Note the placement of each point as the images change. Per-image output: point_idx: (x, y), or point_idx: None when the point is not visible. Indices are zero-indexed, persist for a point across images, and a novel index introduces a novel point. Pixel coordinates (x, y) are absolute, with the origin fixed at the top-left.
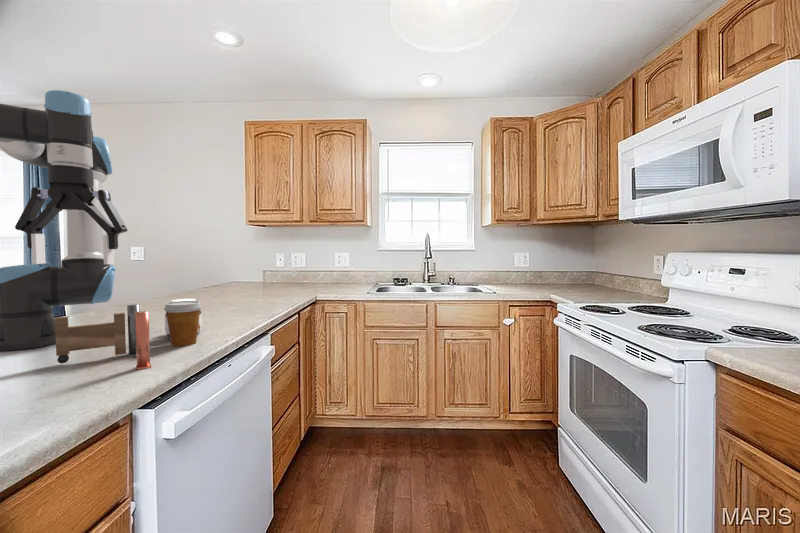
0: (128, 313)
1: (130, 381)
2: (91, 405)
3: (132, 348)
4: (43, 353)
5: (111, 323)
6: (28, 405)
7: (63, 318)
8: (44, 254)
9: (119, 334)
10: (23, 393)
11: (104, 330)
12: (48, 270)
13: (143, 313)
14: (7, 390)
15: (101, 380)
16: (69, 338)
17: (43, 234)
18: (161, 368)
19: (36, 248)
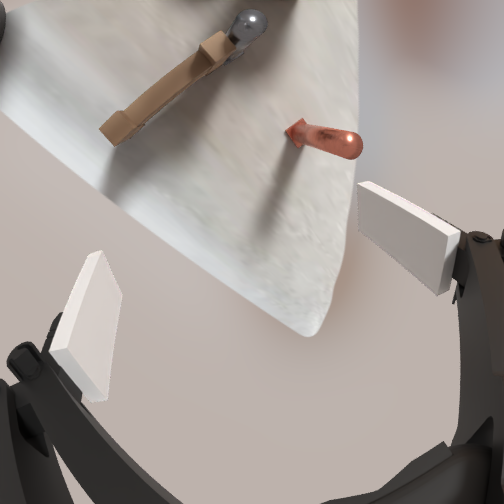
0: (241, 40)
1: (319, 200)
2: (321, 273)
3: (232, 57)
4: (34, 71)
5: (202, 62)
6: (253, 282)
7: (127, 134)
8: (95, 275)
9: (218, 64)
10: (208, 253)
11: (194, 79)
12: None
13: (358, 155)
14: (173, 246)
15: (275, 198)
16: (142, 123)
17: (71, 351)
18: None
19: (112, 337)
